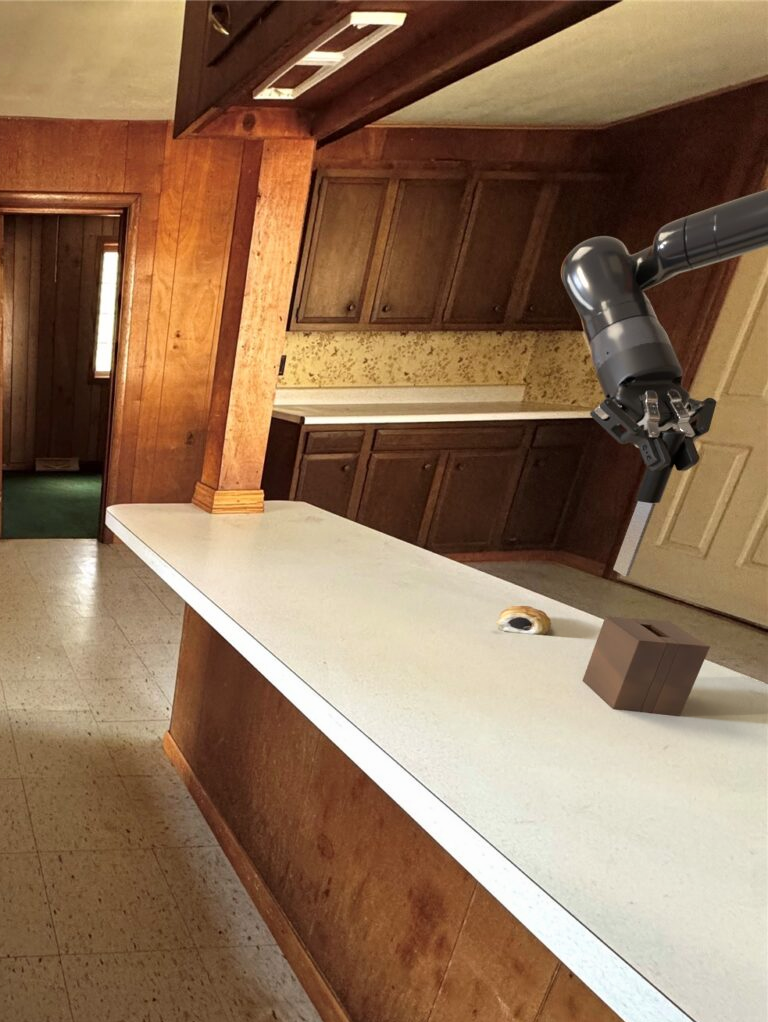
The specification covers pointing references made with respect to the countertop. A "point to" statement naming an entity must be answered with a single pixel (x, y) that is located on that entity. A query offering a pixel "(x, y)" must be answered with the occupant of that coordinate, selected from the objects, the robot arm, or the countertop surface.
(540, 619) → the pastry
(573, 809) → the countertop surface
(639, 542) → the knife
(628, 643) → the knife block
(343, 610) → the countertop surface
